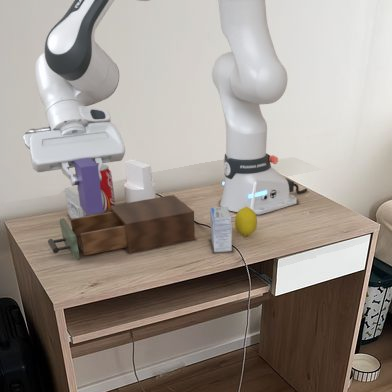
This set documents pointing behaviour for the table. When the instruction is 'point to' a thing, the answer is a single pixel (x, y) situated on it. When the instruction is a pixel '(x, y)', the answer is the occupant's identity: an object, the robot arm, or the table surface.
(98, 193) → the snack bar carton
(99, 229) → the drawer
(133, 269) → the table surface
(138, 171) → the cylinder with rectangular tab
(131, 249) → the cabinet
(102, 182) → the soda can
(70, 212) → the cassette
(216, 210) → the medicine box
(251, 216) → the lemon
